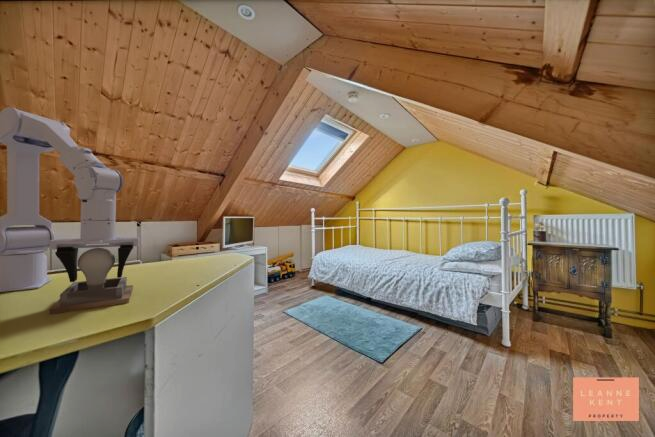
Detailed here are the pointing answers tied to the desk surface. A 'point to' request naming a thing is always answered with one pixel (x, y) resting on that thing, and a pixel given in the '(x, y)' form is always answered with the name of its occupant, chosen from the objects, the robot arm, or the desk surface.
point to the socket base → (92, 296)
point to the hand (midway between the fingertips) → (97, 278)
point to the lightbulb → (96, 266)
